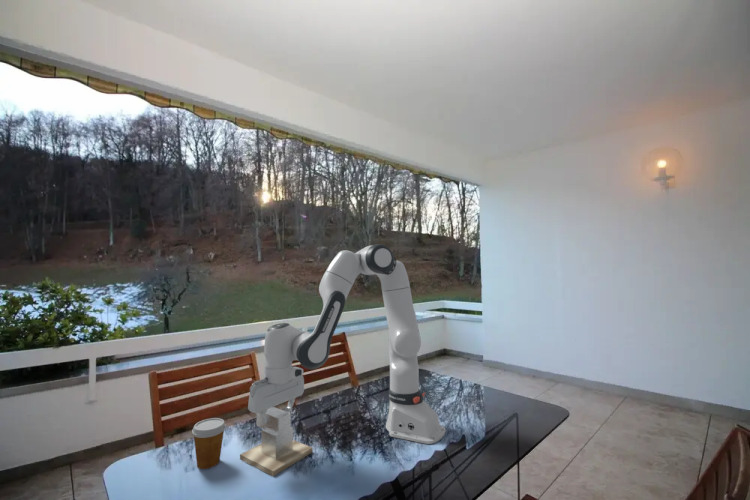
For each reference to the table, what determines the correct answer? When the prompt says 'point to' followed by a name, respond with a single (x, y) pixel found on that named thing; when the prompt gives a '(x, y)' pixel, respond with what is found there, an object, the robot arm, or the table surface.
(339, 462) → the table surface
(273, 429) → the grey stepped block
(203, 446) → the disposable coffee cup
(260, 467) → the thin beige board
